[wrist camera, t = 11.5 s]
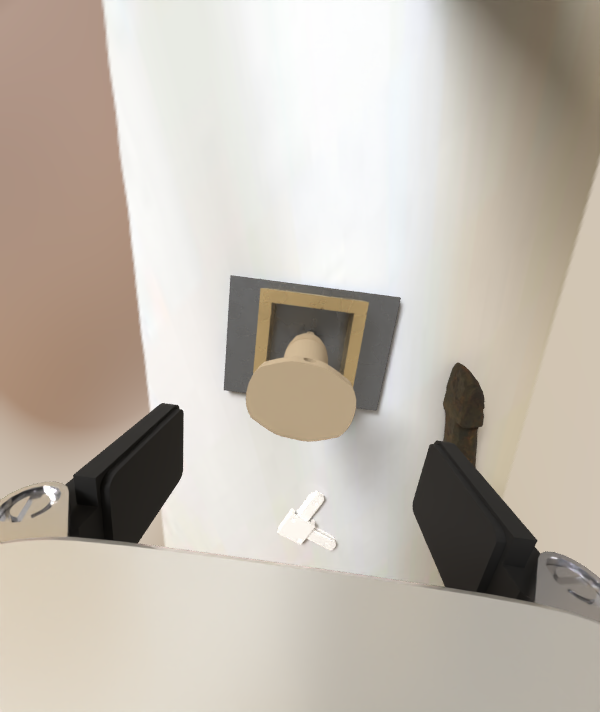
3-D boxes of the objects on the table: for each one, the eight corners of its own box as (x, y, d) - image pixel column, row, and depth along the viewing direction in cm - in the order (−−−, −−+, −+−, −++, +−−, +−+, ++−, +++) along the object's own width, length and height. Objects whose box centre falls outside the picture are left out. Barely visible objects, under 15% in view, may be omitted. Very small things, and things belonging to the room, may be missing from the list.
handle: (330, 371, 31) (343, 450, 17) (275, 359, 31) (240, 426, 17) (341, 330, 30) (365, 377, 15) (283, 317, 30) (253, 351, 15)
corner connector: (358, 509, 38) (360, 519, 36) (326, 547, 40) (327, 558, 38) (308, 482, 37) (308, 491, 35) (278, 523, 39) (277, 533, 37)
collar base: (233, 275, 30) (221, 274, 26) (397, 297, 30) (410, 299, 26) (226, 386, 33) (215, 400, 29) (374, 406, 33) (382, 423, 29)
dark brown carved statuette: (463, 499, 36) (484, 529, 32) (431, 499, 36) (448, 530, 32) (479, 360, 32) (507, 373, 27) (443, 361, 32) (465, 374, 27)
